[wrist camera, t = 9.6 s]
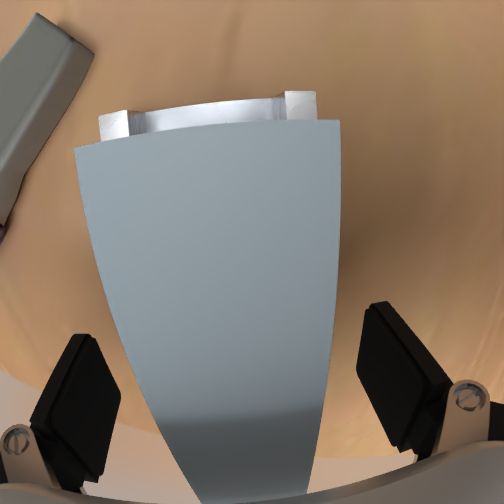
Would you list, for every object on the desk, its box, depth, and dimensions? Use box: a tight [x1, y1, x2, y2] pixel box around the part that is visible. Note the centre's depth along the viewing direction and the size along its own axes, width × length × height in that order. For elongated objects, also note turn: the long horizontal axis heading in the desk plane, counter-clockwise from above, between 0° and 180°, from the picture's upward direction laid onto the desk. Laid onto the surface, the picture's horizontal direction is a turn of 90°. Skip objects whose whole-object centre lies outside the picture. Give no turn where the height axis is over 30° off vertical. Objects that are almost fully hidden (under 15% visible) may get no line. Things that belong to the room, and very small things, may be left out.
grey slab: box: [74, 119, 341, 504], centre depth 10 cm, size 14×3×9 cm, turn 4°
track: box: [98, 91, 317, 142], centre depth 13 cm, size 16×7×4 cm, turn 4°
